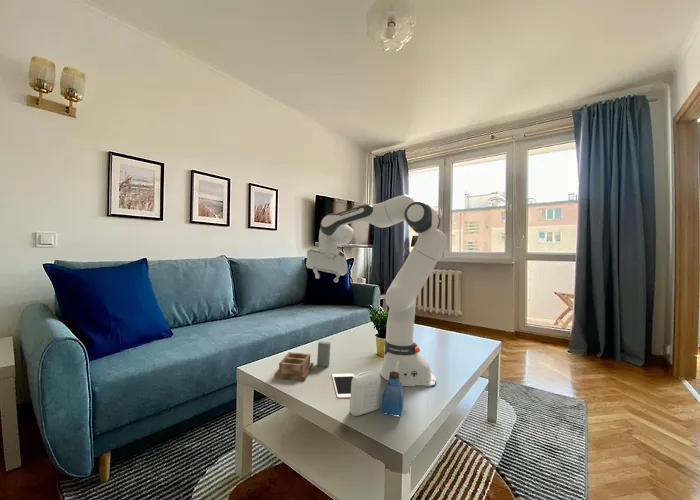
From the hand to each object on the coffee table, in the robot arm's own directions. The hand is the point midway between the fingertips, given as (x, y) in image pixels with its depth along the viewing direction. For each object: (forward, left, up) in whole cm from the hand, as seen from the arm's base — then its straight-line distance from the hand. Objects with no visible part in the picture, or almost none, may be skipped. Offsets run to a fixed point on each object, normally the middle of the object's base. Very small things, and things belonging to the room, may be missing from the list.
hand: (326, 279), depth 131 cm
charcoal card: (-1, +6, -37) cm, 37 cm away
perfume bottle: (-30, +35, -37) cm, 59 cm away
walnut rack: (+9, +15, -37) cm, 41 cm away
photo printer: (-21, +37, -37) cm, 56 cm away
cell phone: (-13, +22, -37) cm, 45 cm away
